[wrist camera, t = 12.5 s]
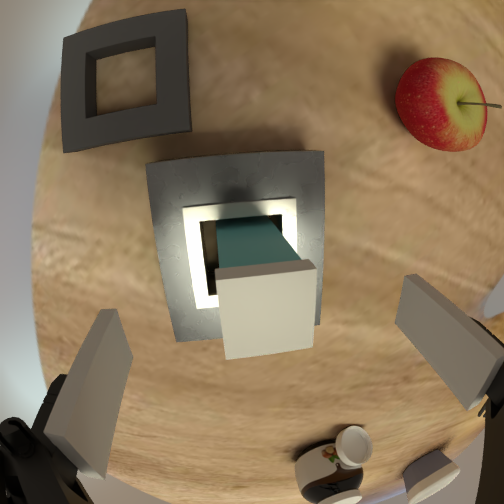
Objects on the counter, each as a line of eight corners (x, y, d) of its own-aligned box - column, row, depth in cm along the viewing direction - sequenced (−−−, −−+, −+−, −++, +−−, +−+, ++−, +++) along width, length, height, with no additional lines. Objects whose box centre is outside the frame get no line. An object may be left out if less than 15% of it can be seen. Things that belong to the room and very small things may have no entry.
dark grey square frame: (75, 45, 16) (63, 37, 14) (187, 20, 17) (185, 8, 15) (76, 151, 20) (63, 153, 18) (191, 131, 21) (189, 129, 19)
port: (156, 161, 21) (144, 164, 17) (306, 149, 23) (325, 151, 19) (179, 316, 26) (176, 344, 22) (306, 301, 28) (320, 326, 24)
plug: (212, 214, 23) (215, 280, 12) (266, 209, 24) (317, 268, 13) (217, 264, 25) (226, 359, 14) (268, 259, 25) (312, 347, 14)
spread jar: (288, 465, 40) (303, 520, 29) (296, 433, 36) (317, 498, 25) (351, 451, 41) (373, 500, 31) (369, 417, 37) (399, 472, 27)
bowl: (434, 460, 57) (449, 484, 47) (392, 483, 56) (405, 509, 46) (448, 438, 52) (467, 465, 41) (402, 464, 51) (418, 495, 40)
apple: (444, 148, 24) (518, 161, 15) (381, 147, 23) (460, 156, 14) (437, 74, 21) (508, 65, 12) (372, 61, 20) (445, 35, 11)
